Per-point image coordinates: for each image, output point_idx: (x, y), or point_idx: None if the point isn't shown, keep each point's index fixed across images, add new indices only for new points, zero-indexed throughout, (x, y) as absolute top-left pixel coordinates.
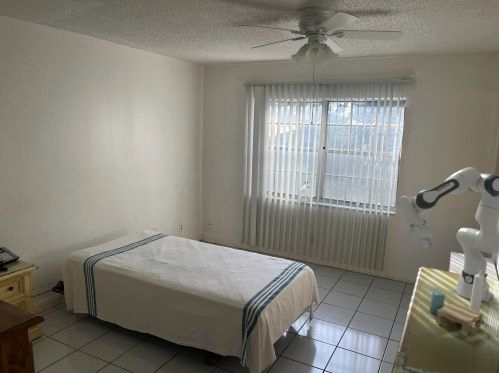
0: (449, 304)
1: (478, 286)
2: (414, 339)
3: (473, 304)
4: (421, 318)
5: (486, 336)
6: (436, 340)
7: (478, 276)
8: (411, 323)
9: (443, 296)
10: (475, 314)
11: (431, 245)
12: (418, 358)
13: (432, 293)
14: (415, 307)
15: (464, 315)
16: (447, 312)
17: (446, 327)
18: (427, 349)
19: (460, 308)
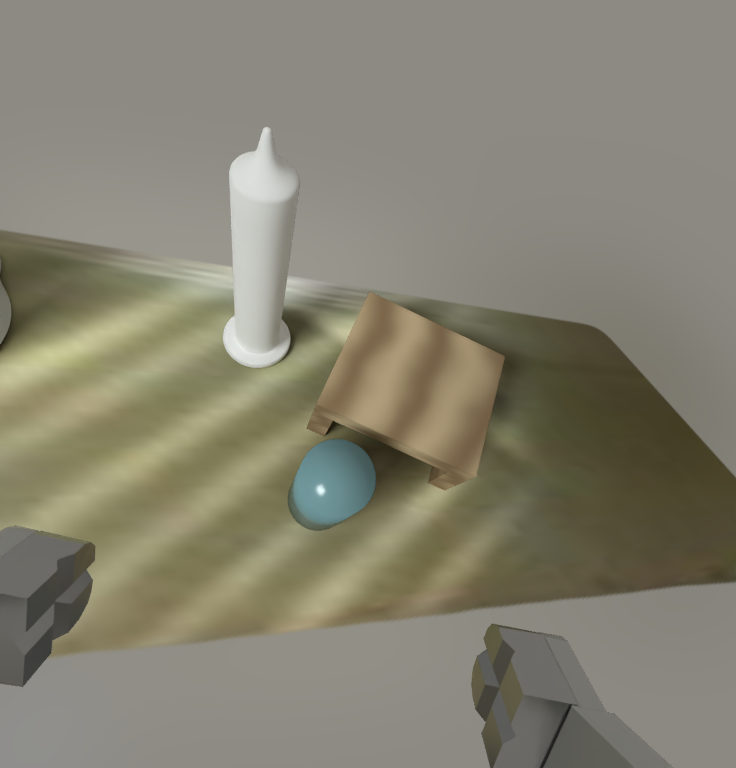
0: (361, 422)
1: (293, 230)
2: (637, 554)
3: (281, 313)
4: (441, 557)
5: None
6: (580, 477)
7: (290, 181)
8: (525, 593)
9: (356, 447)
10: (400, 319)
11: (75, 579)
12: (727, 521)
13: (352, 514)
14: (325, 612)
15: (445, 362)
16: (470, 431)
17: None
18: (659, 501)
19: (377, 373)
